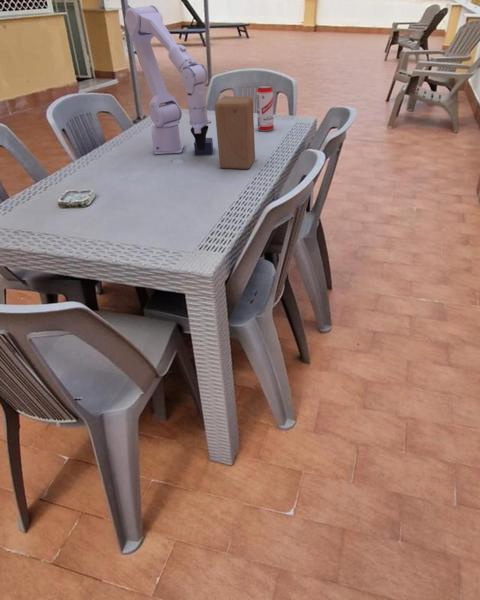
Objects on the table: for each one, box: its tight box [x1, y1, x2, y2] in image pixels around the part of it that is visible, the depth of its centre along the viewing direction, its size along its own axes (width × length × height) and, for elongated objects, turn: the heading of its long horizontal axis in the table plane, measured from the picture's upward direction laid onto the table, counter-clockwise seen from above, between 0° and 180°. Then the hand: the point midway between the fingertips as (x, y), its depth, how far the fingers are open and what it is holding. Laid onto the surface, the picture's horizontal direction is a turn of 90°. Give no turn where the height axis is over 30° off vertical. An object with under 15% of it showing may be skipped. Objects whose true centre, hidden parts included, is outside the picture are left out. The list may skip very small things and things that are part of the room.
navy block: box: [193, 137, 214, 156], centre depth 162 cm, size 6×6×4 cm
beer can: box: [256, 84, 275, 133], centre depth 179 cm, size 6×6×16 cm
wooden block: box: [214, 95, 256, 170], centre depth 146 cm, size 10×10×20 cm
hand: (201, 149), depth 156 cm, fingers closed
